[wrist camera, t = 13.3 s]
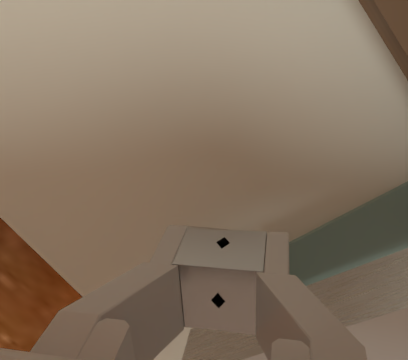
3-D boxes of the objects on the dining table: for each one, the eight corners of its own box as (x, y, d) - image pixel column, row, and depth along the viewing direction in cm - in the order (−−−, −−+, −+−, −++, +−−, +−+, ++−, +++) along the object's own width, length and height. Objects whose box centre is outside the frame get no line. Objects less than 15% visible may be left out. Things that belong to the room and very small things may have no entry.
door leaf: (229, 394, 20) (207, 557, 14) (-58, 104, 15) (-261, 172, 10) (528, 290, 14) (692, 494, 8) (209, -222, 10) (100, -527, 4)
